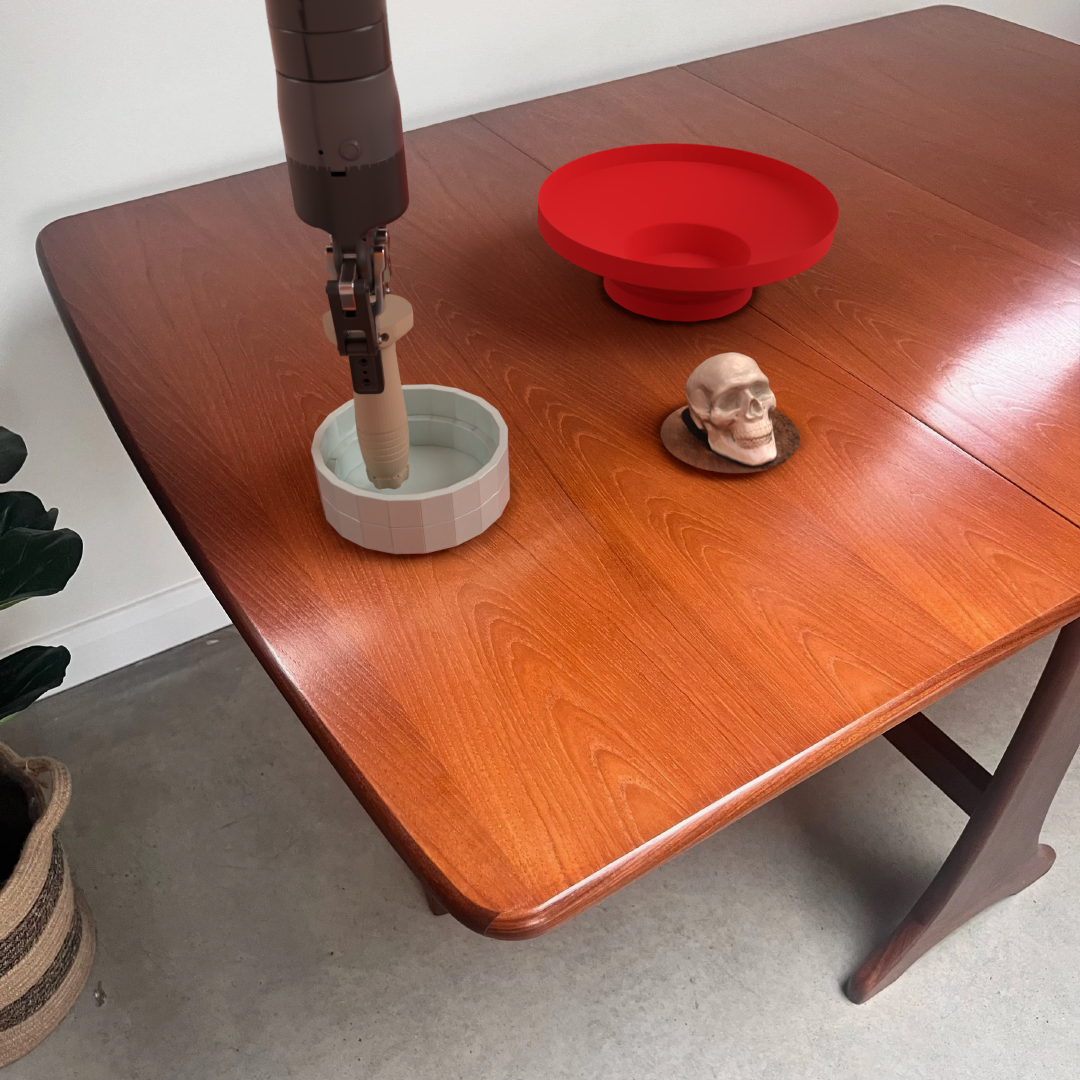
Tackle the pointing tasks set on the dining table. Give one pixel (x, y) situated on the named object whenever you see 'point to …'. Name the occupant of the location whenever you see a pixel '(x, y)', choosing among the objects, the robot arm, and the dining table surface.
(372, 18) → the robot arm
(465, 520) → the mixing bowl
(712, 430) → the skull
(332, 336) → the handle
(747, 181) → the bowl
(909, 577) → the dining table surface
